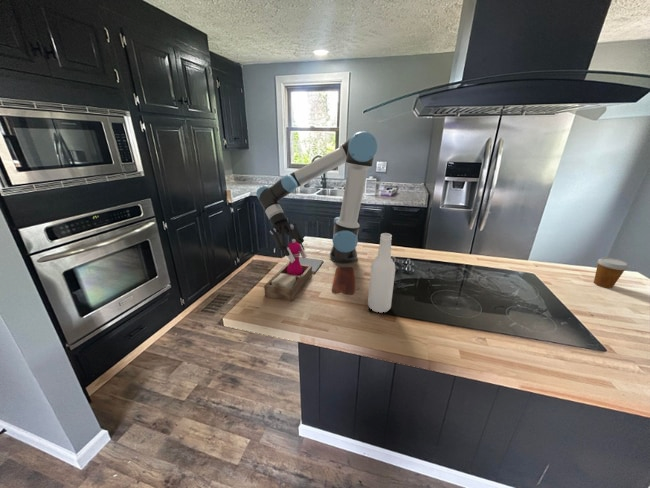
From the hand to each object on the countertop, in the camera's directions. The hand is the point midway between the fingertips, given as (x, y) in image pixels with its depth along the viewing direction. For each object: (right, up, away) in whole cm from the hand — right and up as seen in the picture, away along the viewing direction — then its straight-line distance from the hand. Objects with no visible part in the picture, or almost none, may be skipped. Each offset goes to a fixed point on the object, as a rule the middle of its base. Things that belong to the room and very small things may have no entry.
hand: (299, 259), depth 117 cm
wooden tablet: (+21, -10, +7) cm, 24 cm away
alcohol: (+33, -18, -13) cm, 40 cm away
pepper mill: (-3, -10, +7) cm, 12 cm away
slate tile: (+2, -4, +20) cm, 21 cm away
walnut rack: (-4, -12, +2) cm, 12 cm away
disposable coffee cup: (+140, -12, +5) cm, 140 cm away
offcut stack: (-6, -13, -3) cm, 15 cm away
